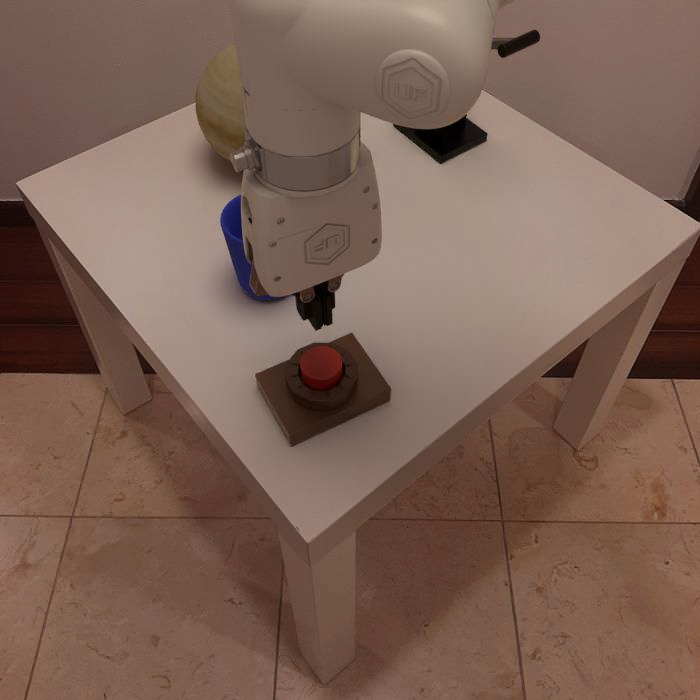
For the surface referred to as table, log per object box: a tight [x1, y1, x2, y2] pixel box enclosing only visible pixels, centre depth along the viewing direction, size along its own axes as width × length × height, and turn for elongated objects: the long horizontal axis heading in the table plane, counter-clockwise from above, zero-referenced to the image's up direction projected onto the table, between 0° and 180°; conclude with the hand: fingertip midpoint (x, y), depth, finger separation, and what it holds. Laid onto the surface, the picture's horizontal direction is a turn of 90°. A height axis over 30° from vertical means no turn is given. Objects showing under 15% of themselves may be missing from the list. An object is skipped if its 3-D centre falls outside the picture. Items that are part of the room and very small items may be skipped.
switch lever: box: [491, 29, 541, 59], centre depth 85 cm, size 14×5×2 cm, turn 36°
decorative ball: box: [194, 43, 247, 163], centre depth 91 cm, size 15×15×15 cm
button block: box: [254, 332, 392, 447], centre depth 73 cm, size 11×8×4 cm
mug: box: [219, 194, 284, 301], centre depth 80 cm, size 8×12×10 cm
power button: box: [300, 346, 342, 390], centre depth 71 cm, size 4×4×2 cm
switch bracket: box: [392, 113, 489, 165], centre depth 94 cm, size 10×8×15 cm
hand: (316, 316), depth 65 cm, fingers closed
